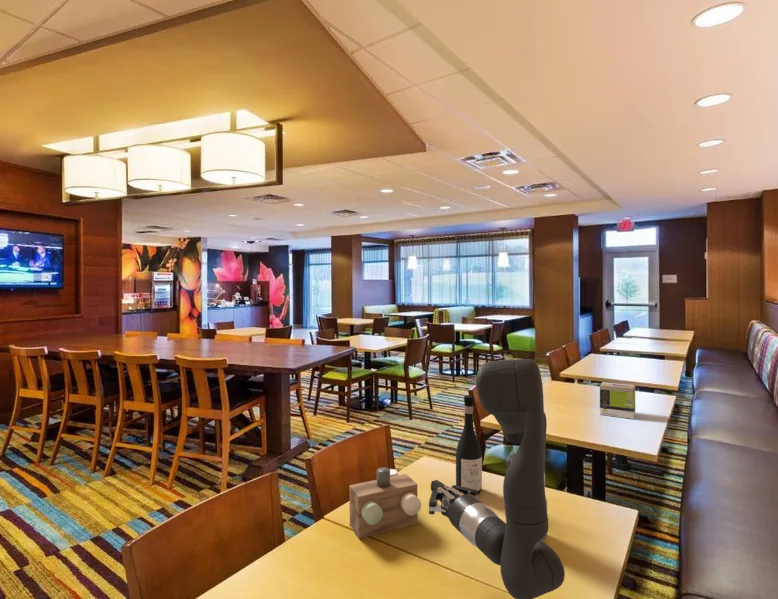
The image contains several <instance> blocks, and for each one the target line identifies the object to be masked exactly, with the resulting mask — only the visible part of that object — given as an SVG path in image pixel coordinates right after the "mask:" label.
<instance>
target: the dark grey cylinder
mask: <svg viewBox="0 0 778 599" xmlns="http://www.w3.org/2000/svg"><path fill="white" fill-rule="evenodd" d="M390 469H391V468H388V467H383V466H382V467H379V468H377V469H376V480H377V486H378V487H381V488H386V487H389V486H390Z"/></svg>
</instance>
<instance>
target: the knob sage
mask: <svg viewBox="0 0 778 599" xmlns="http://www.w3.org/2000/svg"><path fill="white" fill-rule="evenodd" d="M361 515H362V517H363V518H364V519H365V521H366V522H367V523H368V524H369V525H375V524H377V523H379V522H380V520H381V519H382V516H383V511H382V509H381V508H380V507H379V505H378V504H377V503H376V502H375V501H368V502H366V503H365V504H363V506H362V509H361Z"/></svg>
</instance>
